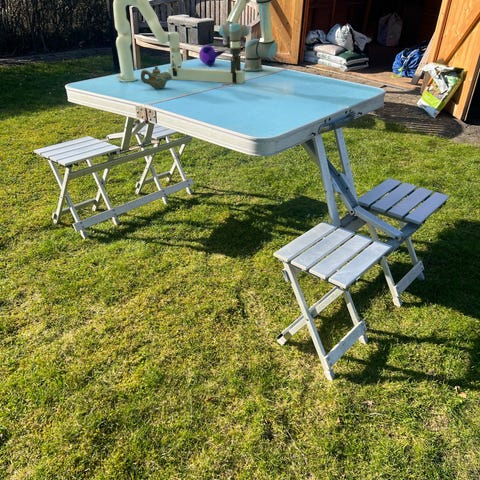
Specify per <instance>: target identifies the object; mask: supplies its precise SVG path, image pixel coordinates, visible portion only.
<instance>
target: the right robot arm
mask: <svg viewBox="0 0 480 480" xmlns="http://www.w3.org/2000/svg"><path fill="white" fill-rule="evenodd" d="M250 2H251V0H236V1H235V3H234V5H233V7H232V8H231V11H230V13H229V15H228V16H227V18H226V21H225V23H224V24H220V25H219V27H218V33H219V36H222V37H229V54H231V57H230V70H231V73H232V83H231V84H237V83H236V71H242V67H241V65H242V64H241V56H242V55H241V53H242V49H241V44H242V43H241V38H246V37H248V36H249V35H250V32H251V31H250V27H249V26H248V25H247V24H242V25H241V24H240V23H238V22H239V20H240V18H241V16H242V14H243V12H244V10H245V8H246V7H247V4H249V3H250ZM272 2H273V0H255V3H256V4H257V5H258V14H259V15H258V16H259V24H260V37H261V38H255V39H249V40H246V41H245V61H244V65H243V71H244V72H260V71H262V70H263V66H262V64H263V65H266V63H265V62H261V58H268V59H270V58H271V59H273V58H275V57H276V55H277V53H278V50H279V44H278V42H277V41H275V37H274V36H273V27H272V13H271V3H272Z"/></svg>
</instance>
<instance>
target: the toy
mask: <svg viewBox="0 0 480 480" xmlns="http://www.w3.org/2000/svg"><path fill="white" fill-rule="evenodd" d="M224 53H226V50H218V51H216V50H215V48H214V47H213V46H211V45H204V46H202V47H201V49H200V50H199V52H198V57H199V60H200V61H201V62H202V63H203V64H205V65H206V66H207V67H211V66H213V64H215V63H216V59H217V58H218V57H219V56H221V55H223V54H224Z"/></svg>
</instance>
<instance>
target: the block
mask: <svg viewBox="0 0 480 480" xmlns="http://www.w3.org/2000/svg"><path fill="white" fill-rule="evenodd" d="M174 68H175V67H174ZM167 70H168V71H167V72H168V73H170V74H171V76H172V78H171V79H170V80H178V81H193V82H194V81H196V82H210V83H227V84H233V83H232V73H231V69H215V68H214V69H213V68H196V67H181V68H177V67H176V71H177V76H173V71H172V68H171V67H169V68H168V69H167ZM245 74H246V73H245V71H244V70H241V71H236V83H235V84H244V83H245V81H246V80H245V77H246V75H245Z"/></svg>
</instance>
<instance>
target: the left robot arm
mask: <svg viewBox="0 0 480 480" xmlns="http://www.w3.org/2000/svg"><path fill="white" fill-rule="evenodd" d="M127 6H132V7H134V8H137V9H138V11H139V12H140V14H141V15H142V16H143V17H142V18H144V20H145V21H146V23H147V25H148V27H149V29H150V30H151V32H152V34H153V36H154V37H155V38H156V40H157V41H158V43H159V44H161V45H165V44H167V43H168V44H169V53H170V54H169V57H170V59H169V60H170V68H172V71H173V76H177V71H176V67H177V68H182V66H183V59H182V53H181V45H180V34H179V32H178V31H165V30H164V29H163V28H162V25H161V23H160V21H159V18H158V15H157V14H156V12H155V11H154V8H153V7H152V6H151V3H150V0H113V3H112V7H113V20H114V28H115V30H116V31H117V37H116V40H115V46H116V50H117V56H118V62H119V67H120V68H119V69H120V74H119V75H115V76H114V78H115V79H117V80H119V81H120V82H123V83H126V82H128V83H130V82H135V81H137V79H138V78H137V77H135V71H134V63H133V55H132V50H131V45H132V32H131V30H132V29H131V25H130V22H129V20H128V18H127V11H126V10H127V9H126V8H127ZM174 67H175V68H174Z"/></svg>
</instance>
